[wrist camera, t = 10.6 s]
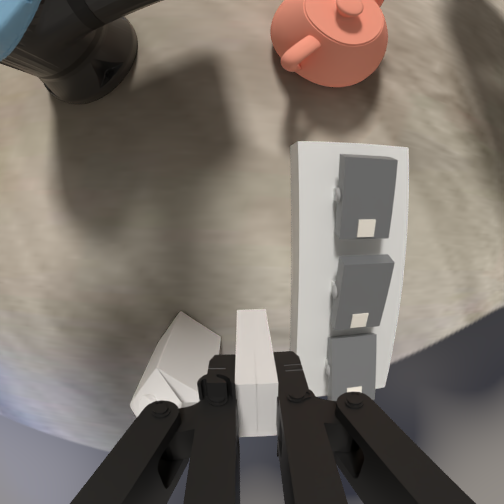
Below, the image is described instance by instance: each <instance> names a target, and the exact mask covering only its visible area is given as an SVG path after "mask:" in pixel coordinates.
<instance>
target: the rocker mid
mask: <svg viewBox="0 0 504 504" xmlns="http://www.w3.org/2000/svg"><path fill="white" fill-rule="evenodd" d="M394 264H395V262H394V261H393V260H392V259H391V257H390V256H389V255H388V254H379V255H353V256H339V262H338V270H337V277H336V285H333V286H332V296H333V298H334V299H333V305H332V312H331V318H330V321H331V324H332V327H333V329H334V331H335V330H346V329H357V328H367V327H376V326H380V322H381V318H382V314H383V311H384V307H385V303H386V299H387V295H388V291H389V286H390V282H391V278H392V273H393V268H394Z"/></svg>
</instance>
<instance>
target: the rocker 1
mask: <svg viewBox="0 0 504 504" xmlns="http://www.w3.org/2000/svg"><path fill="white" fill-rule="evenodd" d="M397 164H398V160H396V159H394V158H392V157H386V156H371V155H353V154H340V158H339V179H338V188H336V189H335V201H336V202H337V209H336V222H335V234H336V235H337V237H338V238H339V240H344V239H387V238H389V232H390V225H391V218H392V210H393V202H394V194H395V185H396V175H397Z"/></svg>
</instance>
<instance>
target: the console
mask: <svg viewBox="0 0 504 504" xmlns="http://www.w3.org/2000/svg"><path fill="white" fill-rule="evenodd" d="M340 154H353V155H371V156H386V157H392V158H394V159H396V160H398V164H397V175H396V185H395V194H394V202H393V210H392V218H391V225H390V232H389V238H387V239H344V240H339V238H338V237H337V235H336V234H335V222H336V209H337V202H336V201H335V189H336V188H338V179H339V158H340ZM290 159H291V238H292V248H291V327H290V351H293V352H294V353H296V354H297V355H298V356H299V358H300V361H301V365H302V368H303V371H304V374H305V378H306V381H307V384H308V388H309V389H310V390H311V391H313V393H314V394H315V396H316V397H318V396H326V395H328V377H327V375H326V365H328V337H330V336H341V335H351V334H361V333H370V332H371V333H374V334H377V345H376V383H375V389H377V388H382V387H385V384H386V380H387V375H388V370H389V365H390V361H391V356H392V350H393V345H394V340H395V334H396V328H397V321H398V315H399V308H400V301H401V293H402V285H403V276H404V266H405V255H406V242H407V226H408V202H409V150H408V147H398V146H387V145H375V144H360V143H342V142H317V141H297V142H296V143H294V144H292V145H291V146H290ZM379 254H388V255H389V256H390V257H391V259H392V260H393V261H394V262H395V264H394V268H393V273H392V278H391V282H390V286H389V291H388V295H387V299H386V303H385V307H384V311H383V314H382V318H381V322H380V326H376V327H367V328H357V329H346V330H335V331H334V329H333V327H332V324H331V321H330V318H331V312H332V305H333V299H334V298H333V296H332V286H333V285H336V277H337V270H338V262H339V256H353V255H379Z"/></svg>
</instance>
